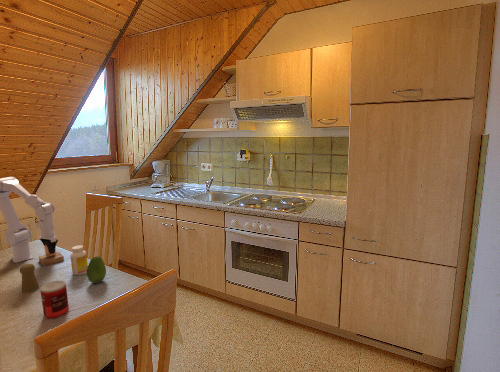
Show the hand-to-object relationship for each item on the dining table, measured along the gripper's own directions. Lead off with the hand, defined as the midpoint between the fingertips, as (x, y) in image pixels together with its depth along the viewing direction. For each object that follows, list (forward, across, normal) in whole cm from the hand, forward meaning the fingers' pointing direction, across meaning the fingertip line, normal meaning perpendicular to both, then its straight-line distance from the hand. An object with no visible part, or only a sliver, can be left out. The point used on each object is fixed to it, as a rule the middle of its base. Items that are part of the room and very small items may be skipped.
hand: (50, 252), depth 154 cm
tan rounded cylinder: (+2, 0, 0) cm, 2 cm away
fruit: (+5, +42, +5) cm, 43 cm away
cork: (+5, +25, -16) cm, 30 cm away
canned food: (+5, +54, -15) cm, 56 cm away
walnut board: (+5, 0, 0) cm, 5 cm away
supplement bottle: (+5, +26, +4) cm, 27 cm away
